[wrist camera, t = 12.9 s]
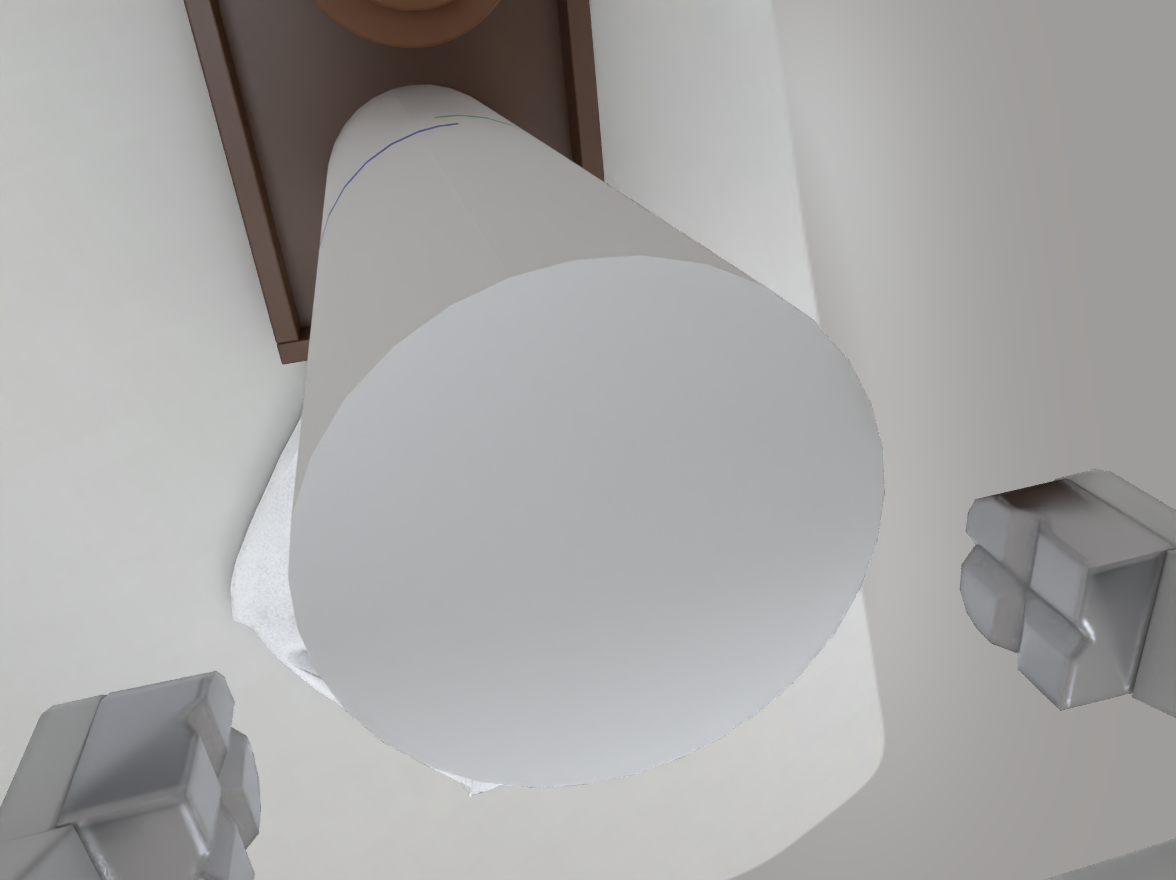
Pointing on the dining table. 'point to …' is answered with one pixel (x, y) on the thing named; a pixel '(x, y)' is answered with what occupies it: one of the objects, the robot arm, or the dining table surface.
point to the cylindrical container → (557, 462)
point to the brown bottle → (408, 19)
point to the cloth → (282, 583)
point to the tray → (344, 84)
